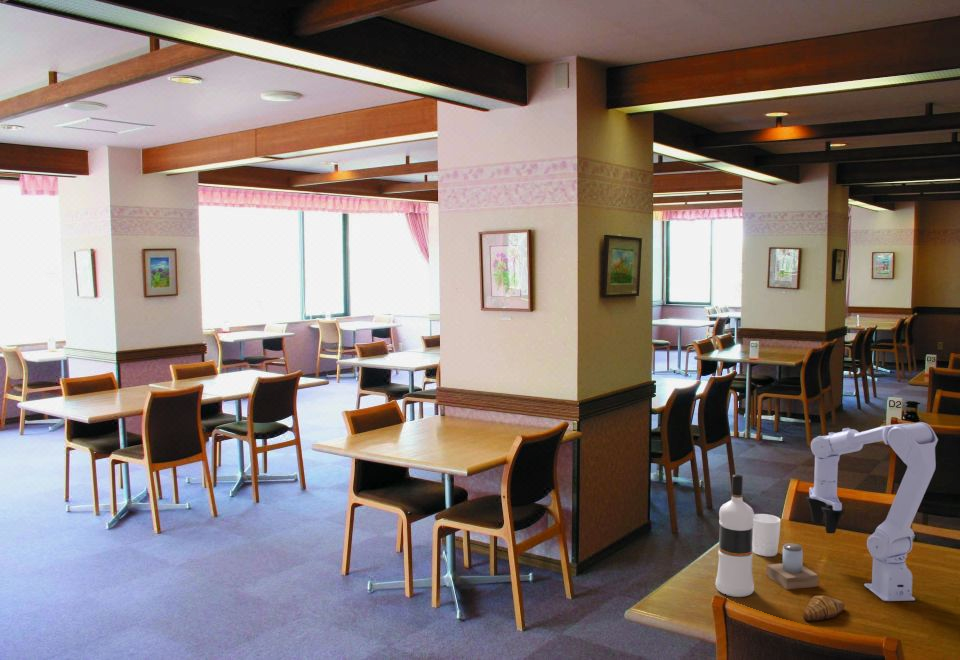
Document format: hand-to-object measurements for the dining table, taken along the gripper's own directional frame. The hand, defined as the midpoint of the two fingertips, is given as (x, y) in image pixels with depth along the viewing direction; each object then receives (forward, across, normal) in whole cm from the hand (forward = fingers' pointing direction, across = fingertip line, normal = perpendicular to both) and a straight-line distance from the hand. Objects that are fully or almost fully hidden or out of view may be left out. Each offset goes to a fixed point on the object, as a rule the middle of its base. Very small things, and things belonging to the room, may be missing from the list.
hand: (823, 528), depth 216 cm
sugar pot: (+7, +10, -13) cm, 18 cm away
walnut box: (+10, +10, -13) cm, 19 cm away
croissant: (+11, +29, -14) cm, 34 cm away
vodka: (+11, +15, -30) cm, 35 cm away
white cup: (+11, -10, -12) cm, 19 cm away
